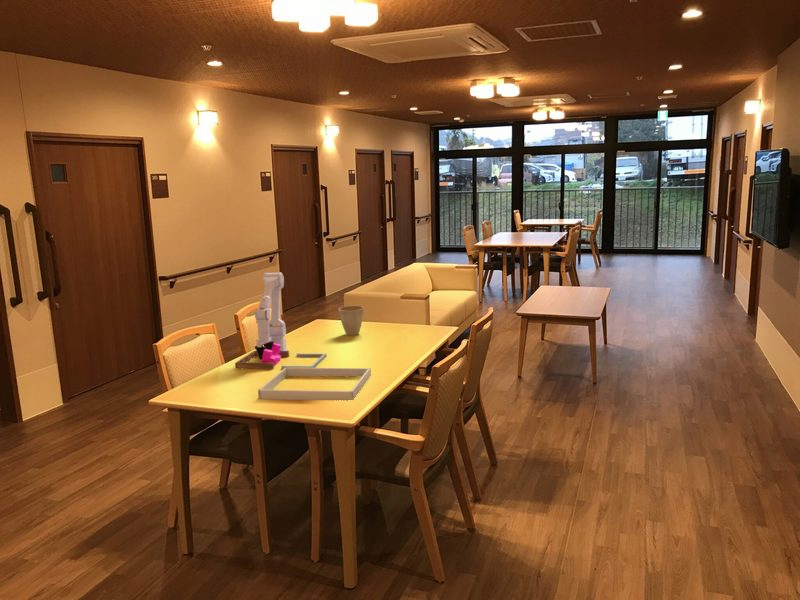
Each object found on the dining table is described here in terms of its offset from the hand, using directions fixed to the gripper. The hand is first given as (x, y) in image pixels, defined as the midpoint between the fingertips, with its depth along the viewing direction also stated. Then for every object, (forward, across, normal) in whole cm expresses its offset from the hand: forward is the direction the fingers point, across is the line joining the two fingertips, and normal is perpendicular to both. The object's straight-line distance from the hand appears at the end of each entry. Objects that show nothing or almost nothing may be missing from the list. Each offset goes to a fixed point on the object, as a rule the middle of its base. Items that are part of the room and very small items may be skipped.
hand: (265, 357), depth 330 cm
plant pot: (+1, -60, +31) cm, 67 cm away
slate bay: (+2, -1, +20) cm, 21 cm away
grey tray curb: (+3, +37, +40) cm, 55 cm away
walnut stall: (+3, -1, -2) cm, 3 cm away
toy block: (+2, 0, +4) cm, 4 cm away
